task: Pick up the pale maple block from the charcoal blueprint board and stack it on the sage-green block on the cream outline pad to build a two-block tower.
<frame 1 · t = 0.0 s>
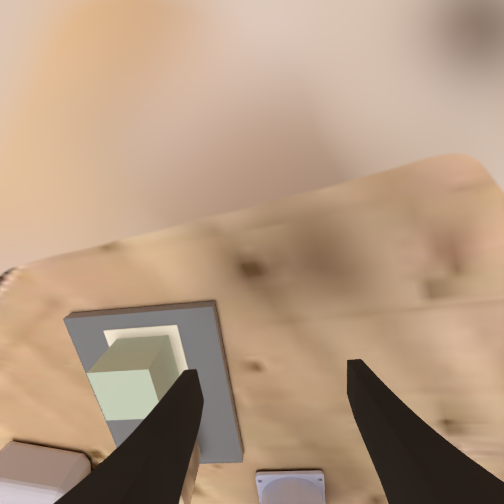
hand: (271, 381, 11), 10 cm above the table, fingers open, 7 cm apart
charger: (78, 469, 31), on the table
sage base block: (149, 359, 23), point 1 cm above the table, touching blueprint board
maple block: (174, 439, 26), point 1 cm above the table, touching blueprint board
blueprint board: (165, 389, 25), on the table
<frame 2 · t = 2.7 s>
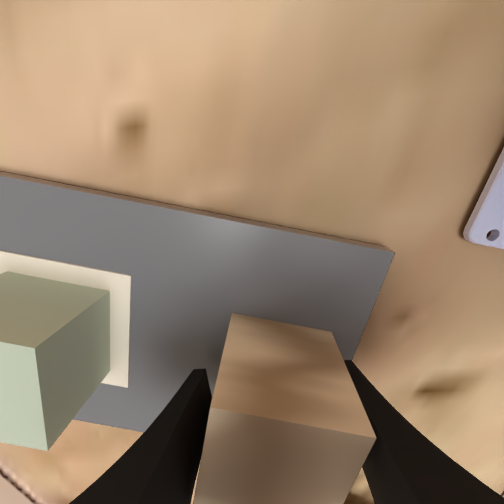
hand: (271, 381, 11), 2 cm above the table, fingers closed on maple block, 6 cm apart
sage base block: (61, 324, 12), point 1 cm above the table, touching blueprint board
maple block: (271, 362, 13), point 1 cm above the table, touching blueprint board, gripper
blueprint board: (165, 329, 13), on the table
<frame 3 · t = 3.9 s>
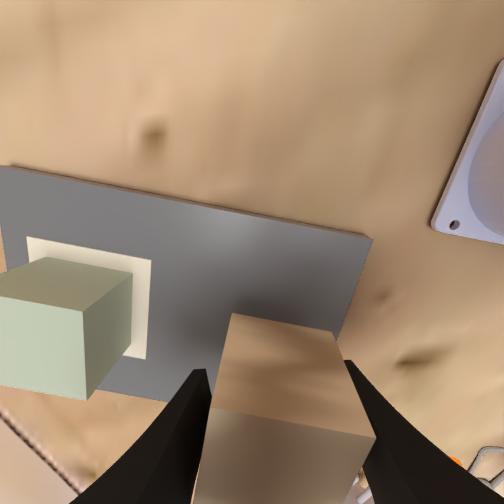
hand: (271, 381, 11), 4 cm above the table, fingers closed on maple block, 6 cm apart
charger: (303, 490, 21), on the table
key chain: (444, 487, 20), on the table
sage base block: (90, 302, 14), point 1 cm above the table, touching blueprint board
maple block: (271, 362, 13), point 3 cm above the table, touching gripper
blueprint board: (178, 308, 16), on the table
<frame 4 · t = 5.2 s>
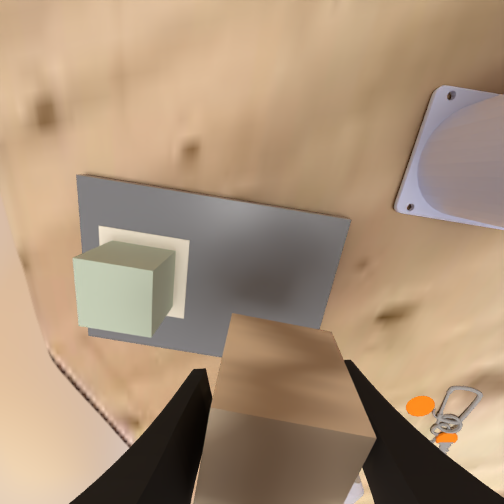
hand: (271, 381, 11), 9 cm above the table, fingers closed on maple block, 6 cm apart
key chain: (423, 425, 25), on the table
sage base block: (143, 274, 19), point 1 cm above the table, touching blueprint board
maple block: (271, 362, 13), point 8 cm above the table, touching gripper
blueprint board: (207, 279, 20), on the table
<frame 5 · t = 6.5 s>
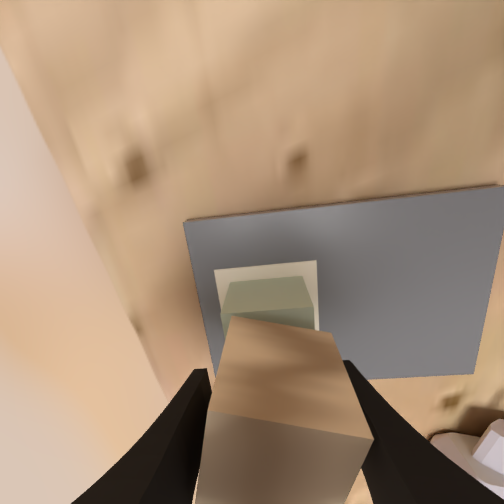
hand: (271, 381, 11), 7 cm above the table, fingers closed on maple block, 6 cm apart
charger: (468, 446, 23), on the table
sage base block: (269, 310, 17), point 1 cm above the table, touching blueprint board
maple block: (272, 363, 13), point 6 cm above the table, touching gripper
blueprint board: (335, 297, 18), on the table
when the fingers open (7 cm above the table, at t = 7.7 s): maple block stays where it is, resting on sage base block.
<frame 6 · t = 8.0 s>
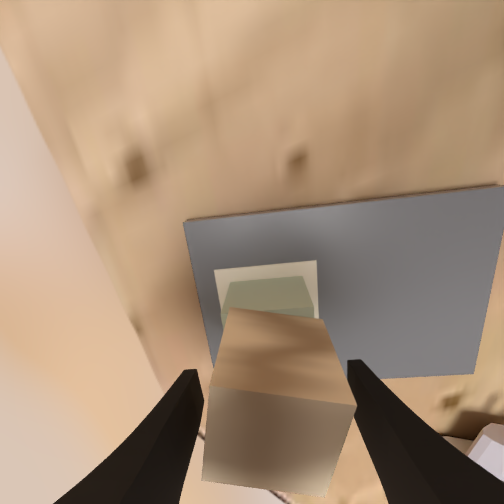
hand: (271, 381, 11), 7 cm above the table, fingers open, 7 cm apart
charger: (462, 449, 23), on the table
sage base block: (269, 310, 17), point 1 cm above the table, touching blueprint board, maple block
maple block: (269, 350, 14), point 5 cm above the table, touching sage base block
blueprint board: (335, 297, 18), on the table
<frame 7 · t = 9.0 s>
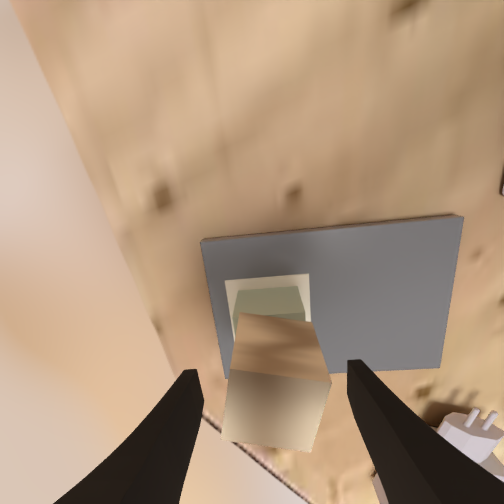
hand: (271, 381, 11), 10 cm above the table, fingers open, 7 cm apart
charger: (431, 436, 27), on the table
sage base block: (269, 314, 21), point 1 cm above the table, touching blueprint board, maple block
maple block: (270, 346, 17), point 5 cm above the table, touching sage base block
blueprint board: (325, 303, 22), on the table
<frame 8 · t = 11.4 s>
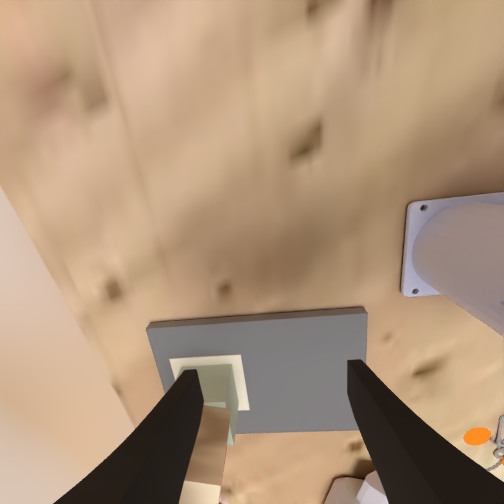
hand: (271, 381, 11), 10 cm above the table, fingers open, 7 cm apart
charger: (365, 486, 30), on the table
key chain: (486, 450, 27), on the table
sage base block: (210, 385, 24), point 1 cm above the table, touching blueprint board, maple block
maple block: (199, 426, 20), point 5 cm above the table, touching sage base block
blueprint board: (260, 374, 25), on the table
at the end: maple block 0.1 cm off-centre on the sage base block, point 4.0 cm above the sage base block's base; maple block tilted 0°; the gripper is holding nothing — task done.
